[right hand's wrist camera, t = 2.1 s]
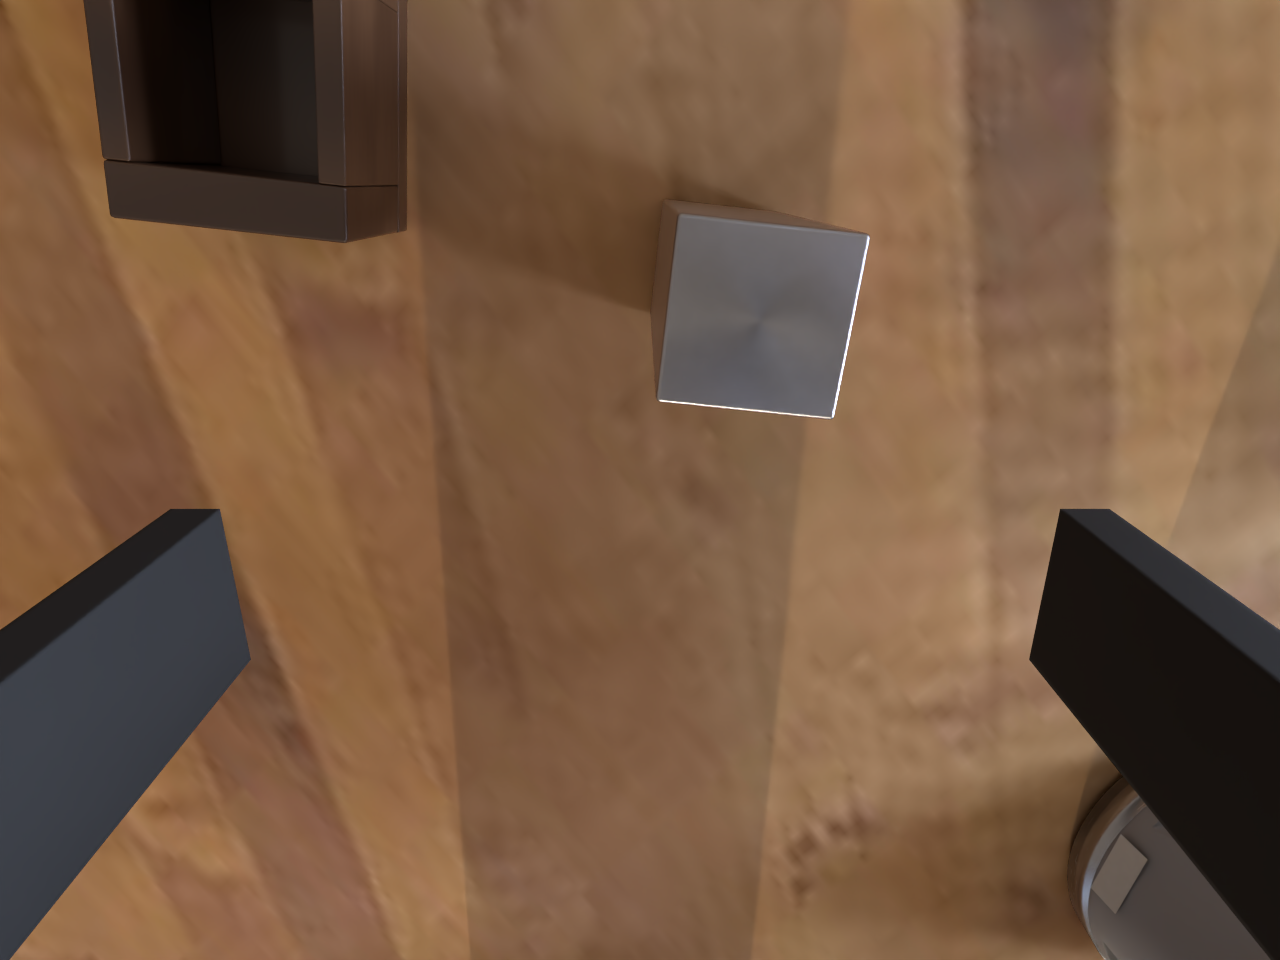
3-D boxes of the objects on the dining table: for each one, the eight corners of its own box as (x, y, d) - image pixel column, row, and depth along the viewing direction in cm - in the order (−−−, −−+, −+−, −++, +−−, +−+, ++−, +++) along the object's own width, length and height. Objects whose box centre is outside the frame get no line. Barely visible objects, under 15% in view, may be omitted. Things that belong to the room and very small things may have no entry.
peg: (777, 211, 27) (871, 234, 16) (759, 327, 29) (834, 420, 18) (662, 198, 27) (678, 211, 16) (650, 315, 29) (655, 402, 17)
